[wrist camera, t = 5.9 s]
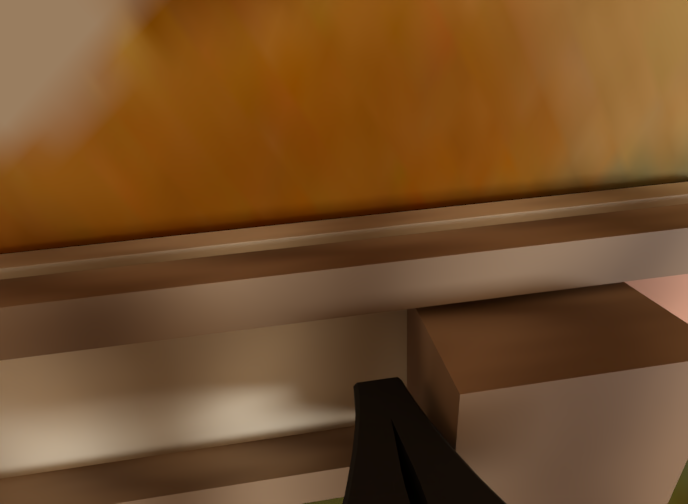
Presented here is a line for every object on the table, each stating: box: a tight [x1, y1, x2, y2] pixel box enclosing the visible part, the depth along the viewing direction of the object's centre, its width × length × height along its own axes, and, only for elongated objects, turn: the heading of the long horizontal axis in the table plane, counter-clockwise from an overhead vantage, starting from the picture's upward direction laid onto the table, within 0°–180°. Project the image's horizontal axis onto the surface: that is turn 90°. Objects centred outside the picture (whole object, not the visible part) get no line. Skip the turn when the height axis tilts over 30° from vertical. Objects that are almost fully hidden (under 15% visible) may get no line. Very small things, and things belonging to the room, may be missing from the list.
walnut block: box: [407, 282, 688, 504], centre depth 11 cm, size 6×5×4 cm
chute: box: [0, 182, 688, 504], centre depth 12 cm, size 24×9×2 cm, turn 94°
